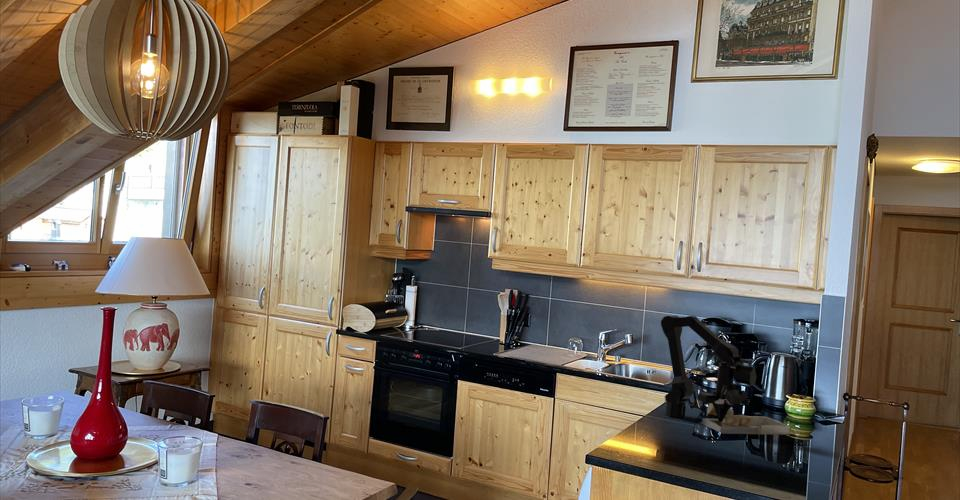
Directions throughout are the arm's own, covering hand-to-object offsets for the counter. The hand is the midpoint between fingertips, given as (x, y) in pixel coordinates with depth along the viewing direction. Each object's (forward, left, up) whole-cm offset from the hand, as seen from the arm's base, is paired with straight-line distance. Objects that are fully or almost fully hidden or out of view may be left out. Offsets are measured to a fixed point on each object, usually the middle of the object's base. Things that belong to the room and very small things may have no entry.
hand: (720, 421), depth 278 cm
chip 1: (+4, 0, -2) cm, 5 cm away
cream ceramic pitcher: (+15, +20, -3) cm, 25 cm away
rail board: (+11, 0, -3) cm, 11 cm away
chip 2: (+10, 0, -2) cm, 10 cm away
